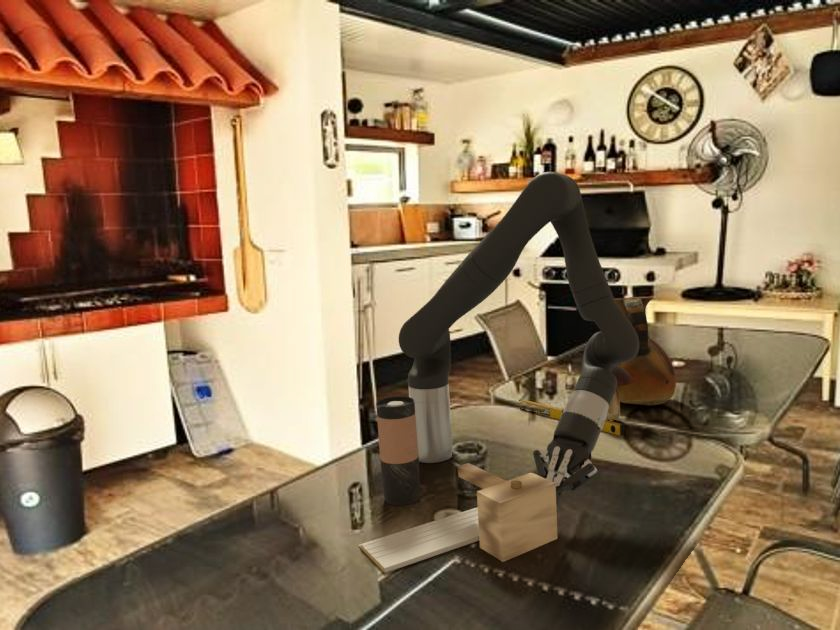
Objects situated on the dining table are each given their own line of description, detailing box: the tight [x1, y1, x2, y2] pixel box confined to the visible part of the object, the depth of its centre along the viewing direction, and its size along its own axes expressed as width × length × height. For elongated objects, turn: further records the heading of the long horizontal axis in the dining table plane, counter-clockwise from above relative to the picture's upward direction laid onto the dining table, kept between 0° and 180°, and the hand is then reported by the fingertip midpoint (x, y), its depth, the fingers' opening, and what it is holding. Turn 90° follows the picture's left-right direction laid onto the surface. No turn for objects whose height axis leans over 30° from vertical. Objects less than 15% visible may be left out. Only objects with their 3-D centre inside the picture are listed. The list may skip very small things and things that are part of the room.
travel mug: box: [375, 395, 421, 507], centre depth 133 cm, size 8×8×20 cm
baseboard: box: [358, 506, 480, 574], centre depth 119 cm, size 31×3×12 cm
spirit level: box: [518, 398, 625, 437], centre depth 175 cm, size 33×1×3 cm, turn 38°
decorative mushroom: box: [606, 365, 633, 421], centre depth 171 cm, size 11×11×15 cm
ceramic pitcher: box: [614, 296, 677, 406], centre depth 184 cm, size 20×20×30 cm
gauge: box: [457, 462, 558, 563], centre depth 118 cm, size 18×12×11 cm, turn 33°
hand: (546, 507), depth 117 cm, fingers closed
